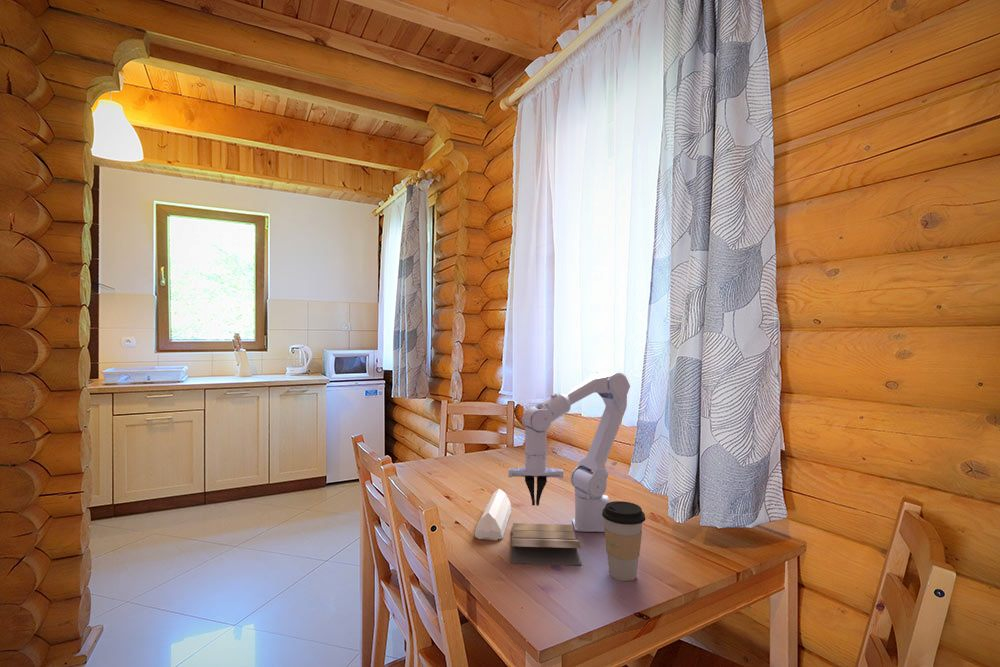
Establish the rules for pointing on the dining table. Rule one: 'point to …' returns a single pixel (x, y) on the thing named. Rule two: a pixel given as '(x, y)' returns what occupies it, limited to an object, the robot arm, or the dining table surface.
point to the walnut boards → (543, 531)
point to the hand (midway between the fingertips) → (535, 504)
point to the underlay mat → (545, 555)
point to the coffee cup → (623, 538)
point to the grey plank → (545, 543)
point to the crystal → (494, 517)
